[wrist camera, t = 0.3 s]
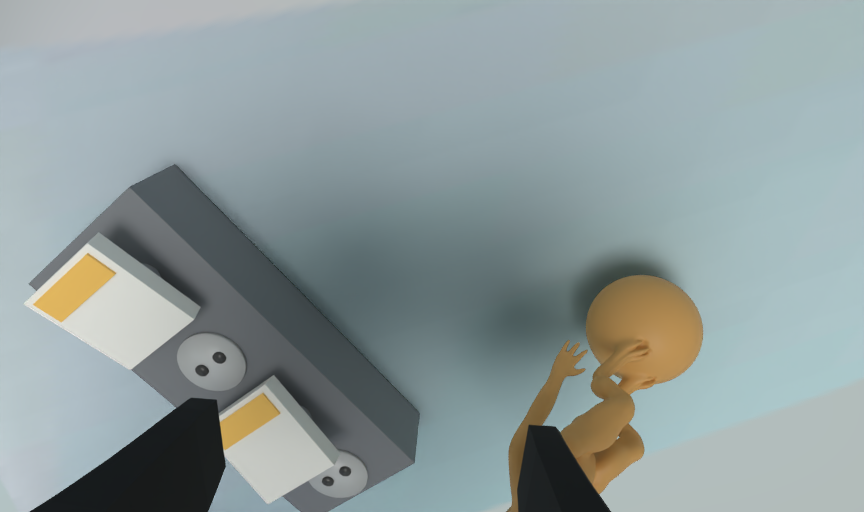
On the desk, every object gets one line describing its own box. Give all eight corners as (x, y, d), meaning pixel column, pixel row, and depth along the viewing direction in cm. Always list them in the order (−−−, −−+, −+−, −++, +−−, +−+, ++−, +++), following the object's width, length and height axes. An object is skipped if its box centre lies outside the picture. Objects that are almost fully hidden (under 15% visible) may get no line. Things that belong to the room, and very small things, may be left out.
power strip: (419, 413, 24) (414, 467, 21) (327, 468, 26) (309, 525, 23) (174, 164, 20) (124, 189, 17) (82, 250, 22) (22, 287, 19)
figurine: (706, 369, 22) (771, 734, 12) (562, 374, 24) (524, 680, 15) (682, 195, 18) (749, 529, 9) (515, 223, 20) (424, 505, 11)
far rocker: (344, 446, 20) (333, 466, 19) (280, 484, 22) (266, 506, 20) (278, 369, 20) (263, 385, 19) (216, 412, 21) (199, 430, 20)
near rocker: (204, 299, 19) (193, 321, 18) (143, 348, 20) (128, 372, 19) (105, 225, 17) (86, 244, 16) (43, 283, 18) (21, 305, 17)
